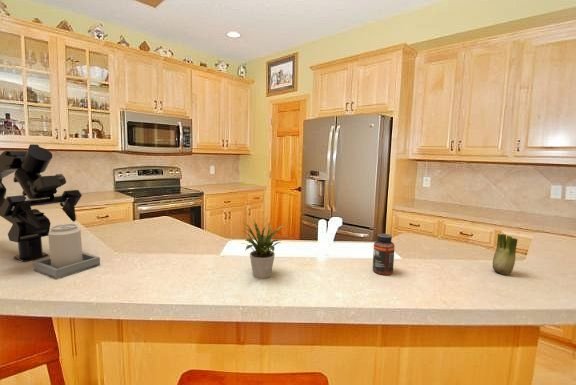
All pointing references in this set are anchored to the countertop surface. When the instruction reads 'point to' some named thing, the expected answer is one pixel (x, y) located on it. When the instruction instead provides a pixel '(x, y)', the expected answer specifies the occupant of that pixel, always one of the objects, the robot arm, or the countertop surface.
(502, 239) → the fennel bulb
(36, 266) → the tray
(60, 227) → the can
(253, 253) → the house plant
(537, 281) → the countertop surface
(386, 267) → the supplement bottle
